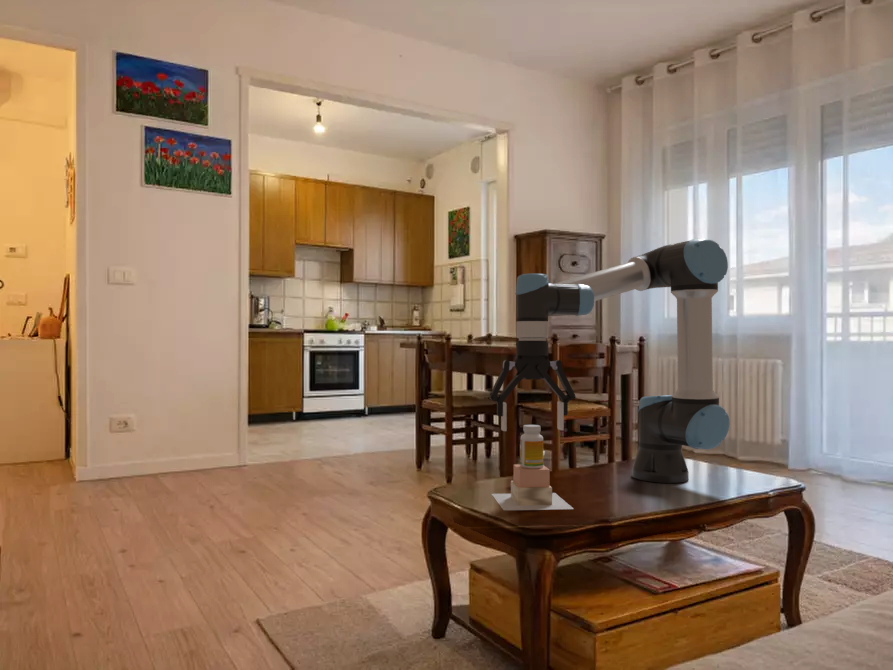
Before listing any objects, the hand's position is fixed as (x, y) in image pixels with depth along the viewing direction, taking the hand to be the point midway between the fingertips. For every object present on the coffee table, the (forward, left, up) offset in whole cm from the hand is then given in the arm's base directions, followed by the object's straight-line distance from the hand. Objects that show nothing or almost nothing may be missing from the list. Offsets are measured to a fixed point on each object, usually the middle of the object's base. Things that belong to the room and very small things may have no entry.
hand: (532, 430), depth 158 cm
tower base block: (0, 0, -17) cm, 17 cm away
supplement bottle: (0, 0, -9) cm, 9 cm away
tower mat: (0, 0, -17) cm, 17 cm away
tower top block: (0, 0, -13) cm, 13 cm away
